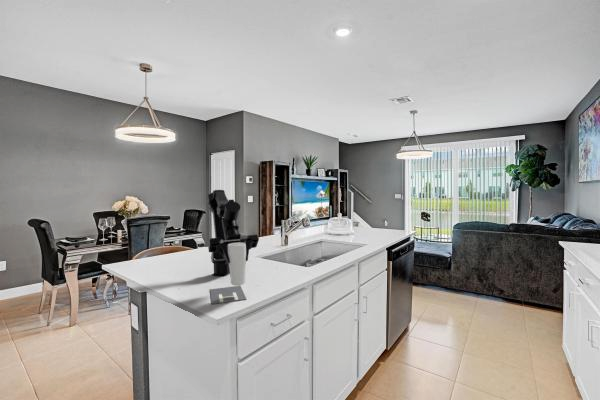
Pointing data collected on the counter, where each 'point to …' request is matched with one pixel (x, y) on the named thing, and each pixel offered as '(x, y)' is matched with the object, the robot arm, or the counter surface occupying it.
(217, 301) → the board
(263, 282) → the counter surface
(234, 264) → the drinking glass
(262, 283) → the counter surface
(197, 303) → the counter surface
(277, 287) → the counter surface
